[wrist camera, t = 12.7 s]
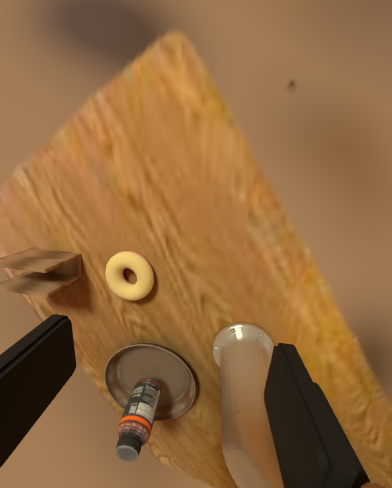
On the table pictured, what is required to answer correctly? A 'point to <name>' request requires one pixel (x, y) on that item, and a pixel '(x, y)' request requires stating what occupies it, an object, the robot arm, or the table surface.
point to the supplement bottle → (138, 419)
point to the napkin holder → (41, 271)
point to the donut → (140, 269)
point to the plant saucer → (155, 367)
